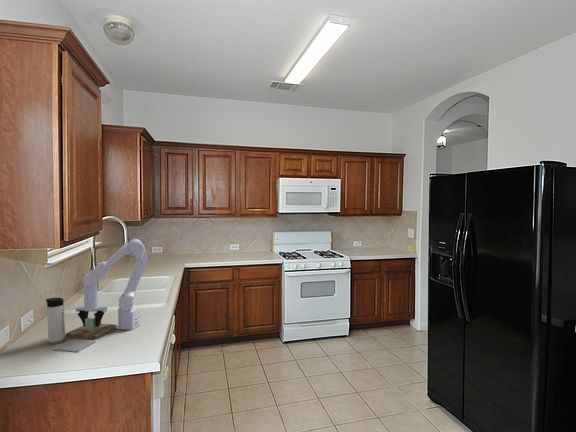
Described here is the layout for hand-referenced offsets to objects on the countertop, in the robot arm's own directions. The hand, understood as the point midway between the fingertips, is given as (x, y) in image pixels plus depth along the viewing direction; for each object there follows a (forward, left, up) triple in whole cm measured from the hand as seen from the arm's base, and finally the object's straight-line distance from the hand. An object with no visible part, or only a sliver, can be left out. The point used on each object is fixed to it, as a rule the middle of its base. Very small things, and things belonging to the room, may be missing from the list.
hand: (92, 326), depth 165 cm
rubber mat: (-4, +15, -3) cm, 16 cm away
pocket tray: (0, 0, -3) cm, 3 cm away
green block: (0, 0, -3) cm, 3 cm away
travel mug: (+8, +12, -3) cm, 15 cm away
